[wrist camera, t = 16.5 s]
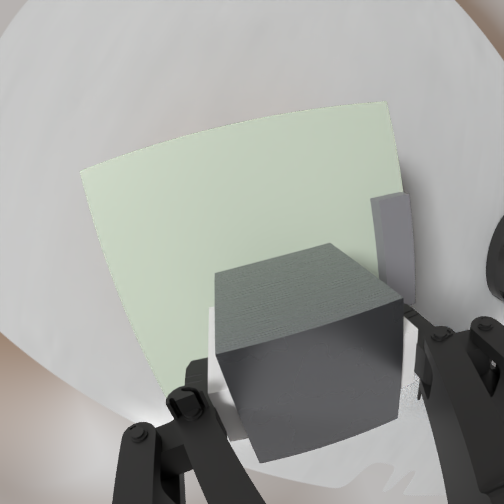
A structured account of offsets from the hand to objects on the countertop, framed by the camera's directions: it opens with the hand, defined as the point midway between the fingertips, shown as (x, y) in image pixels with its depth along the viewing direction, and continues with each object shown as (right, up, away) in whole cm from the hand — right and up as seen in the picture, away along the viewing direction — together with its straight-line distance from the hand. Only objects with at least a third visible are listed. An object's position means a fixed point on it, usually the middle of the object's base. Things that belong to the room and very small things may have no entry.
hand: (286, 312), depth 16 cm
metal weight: (0, 0, 0) cm, 0 cm away
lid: (-1, +1, +5) cm, 5 cm away
